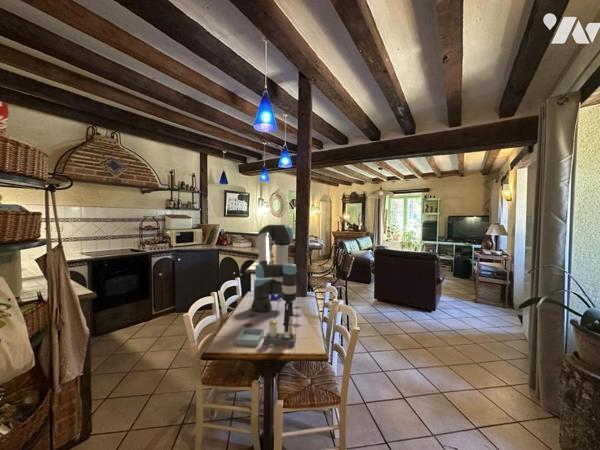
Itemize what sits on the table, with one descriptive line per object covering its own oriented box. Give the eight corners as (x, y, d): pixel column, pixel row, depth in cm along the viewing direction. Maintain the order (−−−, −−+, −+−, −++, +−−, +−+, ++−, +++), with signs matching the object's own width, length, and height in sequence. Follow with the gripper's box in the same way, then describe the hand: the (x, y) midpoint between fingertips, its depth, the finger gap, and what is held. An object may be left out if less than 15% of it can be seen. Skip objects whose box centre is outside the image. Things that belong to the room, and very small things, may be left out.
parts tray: (244, 333, 150) (244, 327, 150) (264, 334, 149) (264, 329, 149) (235, 344, 136) (235, 338, 136) (257, 345, 135) (258, 340, 135)
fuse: (269, 337, 143) (270, 319, 142) (277, 338, 142) (277, 320, 142) (268, 341, 138) (268, 322, 138) (276, 341, 138) (276, 323, 138)
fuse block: (267, 337, 145) (267, 332, 145) (296, 339, 143) (296, 334, 143) (263, 345, 135) (263, 340, 135) (294, 347, 134) (294, 342, 134)
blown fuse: (284, 338, 142) (285, 320, 142) (292, 339, 141) (293, 321, 141) (283, 342, 137) (283, 323, 137) (291, 342, 137) (292, 324, 137)
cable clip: (274, 301, 211) (274, 294, 211) (270, 300, 214) (270, 292, 213) (284, 298, 220) (284, 291, 220) (280, 297, 223) (280, 290, 223)
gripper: (285, 286, 151) (284, 323, 151) (278, 298, 128) (277, 341, 128) (298, 287, 150) (297, 324, 151) (293, 299, 127) (292, 343, 127)
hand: (288, 332), depth 139 cm, fingers open, 11 cm apart
